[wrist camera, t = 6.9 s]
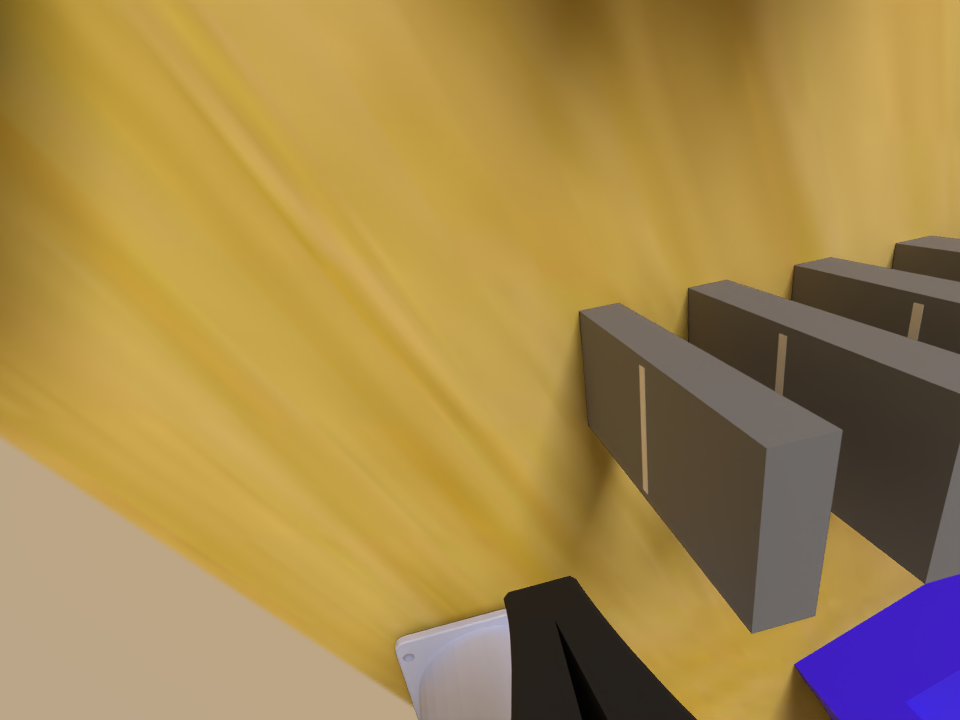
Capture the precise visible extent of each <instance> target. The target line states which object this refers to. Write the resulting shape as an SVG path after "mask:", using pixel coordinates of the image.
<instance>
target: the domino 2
mask: <svg viewBox="0 0 960 720" xmlns="http://www.w3.org/2000/svg"><path fill="white" fill-rule="evenodd" d="M792 301H795V302H798V303H801V304H804V305H807V306H810V307H813V308H816V309H820V310H823V311H826V312H829V313H832V314H835V315H838V316H841V317H845V318H848V319H851V320H854V321H857V322H860V323H863V324H866V325H870V326H873V327H876V328H879V329H882V330H885V331H888V332H891V333H895V334H898V335H901V336H904V337H907V338H910V339H913V340H916V341H920V342H923V343H926V344H929V345H932V346H935V347H938V348H941V349H945V350H948V351H951V352H954V353H957V354H960V282H957V281H952V280H946V279H941V278H936V277H931V276H926V275H920V274H915V273H910V272H905V271H900V270H895V269H889V268H884V267H879V266H874V265H869V264H863V263H858V262H853V261H848V260H843V259H838V258H832V257H830V258H826V259H821V260H816V261H812V262H807V263H802V264H798V265H795V266H794V279H793V291H792Z"/></svg>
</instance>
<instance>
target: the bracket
mask: <svg viewBox="0 0 960 720" xmlns="http://www.w3.org/2000/svg"><path fill="white" fill-rule="evenodd" d="M794 665H795V666H796V668H797V670H798V671H799V673H800V675H801V676H802V678H803V680H804V681H805V683H806V684H807V685H808V686H809V687H810V689H811V690H812V691H813V692H814V694H815V695H816V696H817V697H818V699H819V700H820V701H821V703H822V704H823V706H824V708H825V709H826V711H827V713H828V714H829V716H830V718H831V719H832V720H960V574H958V575H954V576H951V577H947V578H944V579H941V580H937V581H934V582H930V583H927V584H925V585H923V586H921V587H920V588H918V589H917V590H915V591H913V592H912V593H910V594H908V595H907V596H905V597H903V598H902V599H900V600H899V601H897V602H895V603H894V604H892V605H890V606H889V607H887V608H885V609H884V610H882V611H881V612H879V613H877V614H876V615H874V616H872V617H871V618H869V619H867V620H866V621H864V622H863V623H861V624H859V625H858V626H856V627H854V628H853V629H851V630H849V631H848V632H846V633H845V634H843V635H841V636H840V637H838V638H836V639H835V640H833V641H831V642H830V643H828V644H827V645H825V646H823V647H822V648H820V649H818V650H817V651H815V652H814V653H812V654H810V655H809V656H807V657H805V658H804V659H802V660H800V661H799V662H797V663H796V664H794Z"/></svg>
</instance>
